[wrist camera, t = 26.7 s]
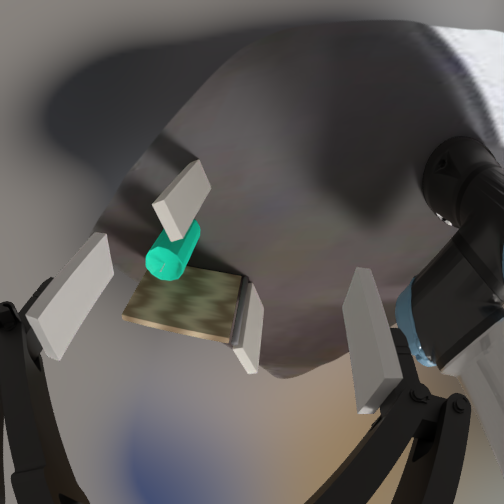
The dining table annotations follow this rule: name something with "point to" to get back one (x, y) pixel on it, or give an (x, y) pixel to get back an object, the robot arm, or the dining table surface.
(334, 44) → the dining table surface
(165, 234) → the candle
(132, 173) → the dining table surface
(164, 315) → the door
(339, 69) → the dining table surface
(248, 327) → the door frame
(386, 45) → the dining table surface
